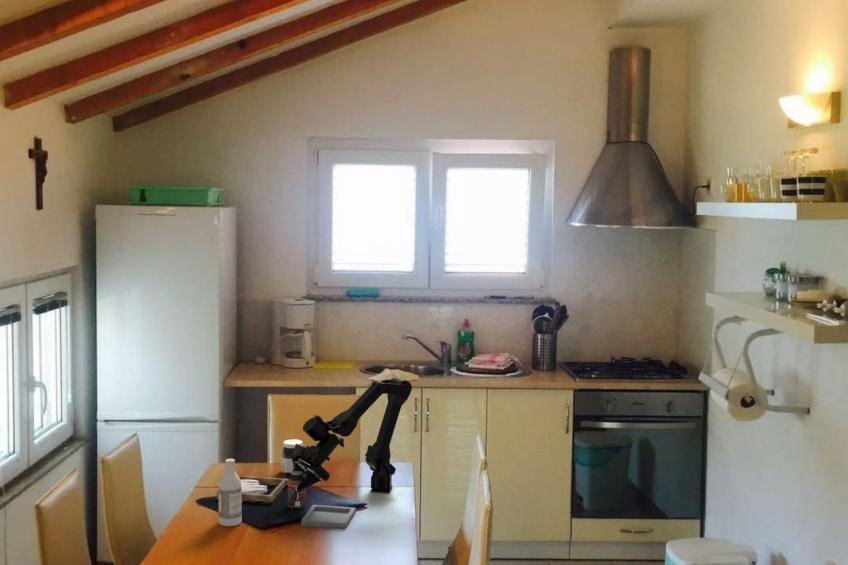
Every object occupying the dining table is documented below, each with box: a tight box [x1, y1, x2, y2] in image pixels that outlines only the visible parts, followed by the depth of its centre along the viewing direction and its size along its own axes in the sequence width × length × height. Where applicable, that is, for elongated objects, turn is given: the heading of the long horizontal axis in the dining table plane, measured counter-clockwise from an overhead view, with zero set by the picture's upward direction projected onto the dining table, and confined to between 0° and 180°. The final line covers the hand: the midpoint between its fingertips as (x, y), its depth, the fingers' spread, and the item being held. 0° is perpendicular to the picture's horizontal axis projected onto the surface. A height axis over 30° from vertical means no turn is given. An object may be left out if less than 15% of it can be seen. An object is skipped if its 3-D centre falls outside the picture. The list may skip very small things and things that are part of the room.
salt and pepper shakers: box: [241, 480, 268, 495], centre depth 312 cm, size 12×4×11 cm
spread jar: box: [281, 438, 310, 477], centre depth 334 cm, size 12×11×12 cm
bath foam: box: [218, 458, 243, 527], centre depth 284 cm, size 7×7×20 cm
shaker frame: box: [216, 475, 289, 503], centre depth 313 cm, size 19×18×2 cm
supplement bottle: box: [287, 471, 307, 509], centre depth 300 cm, size 6×6×11 cm
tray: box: [300, 504, 357, 530], centre depth 290 cm, size 14×14×2 cm
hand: (292, 487), depth 299 cm, fingers closed on supplement bottle, 6 cm apart
